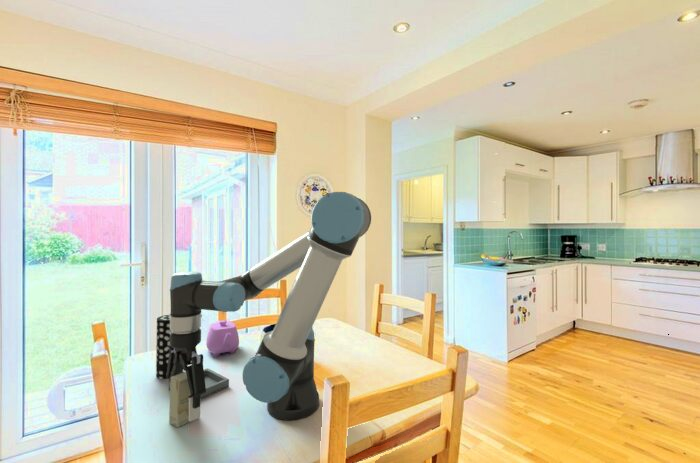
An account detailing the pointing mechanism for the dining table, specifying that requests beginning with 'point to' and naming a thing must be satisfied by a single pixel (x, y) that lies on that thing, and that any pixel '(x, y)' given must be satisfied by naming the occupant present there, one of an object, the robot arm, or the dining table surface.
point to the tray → (213, 382)
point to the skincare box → (179, 400)
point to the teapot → (222, 338)
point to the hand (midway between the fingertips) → (184, 411)
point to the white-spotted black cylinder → (162, 346)
